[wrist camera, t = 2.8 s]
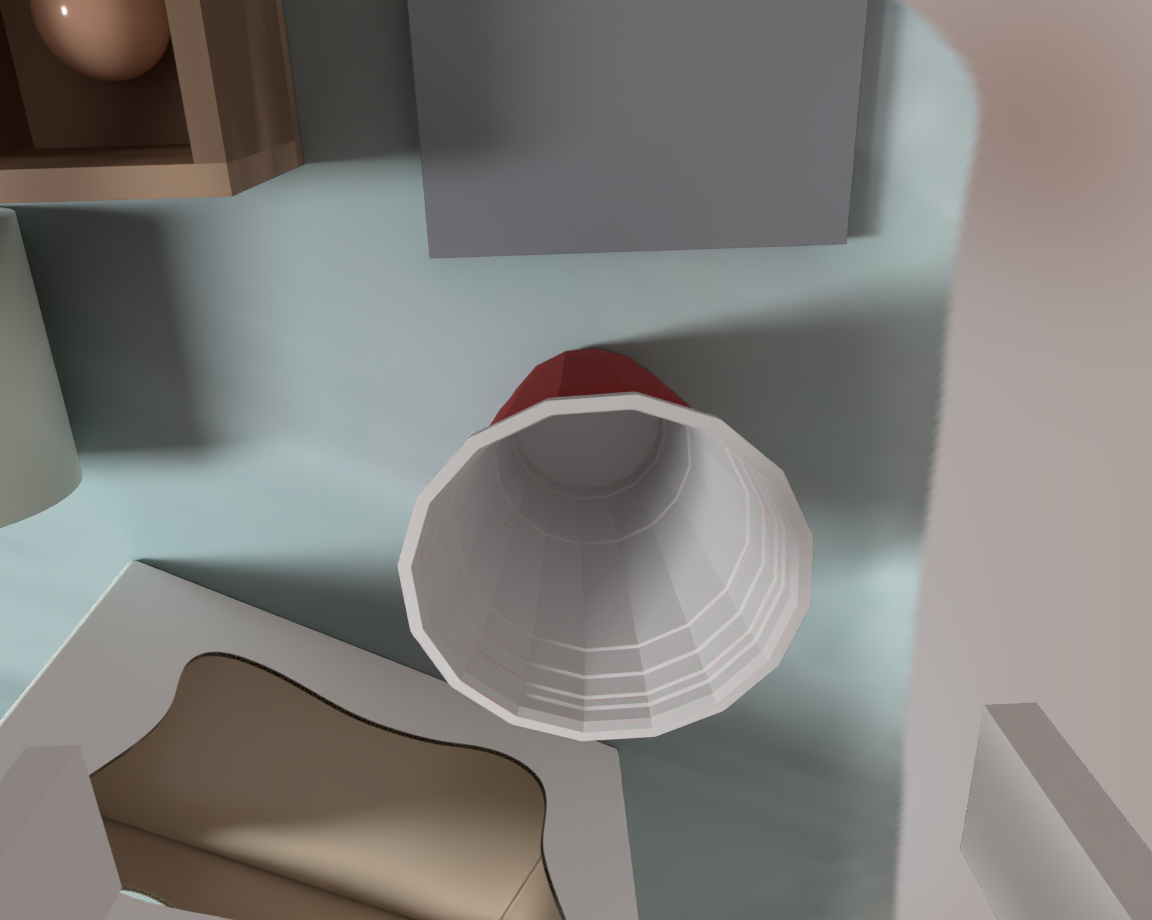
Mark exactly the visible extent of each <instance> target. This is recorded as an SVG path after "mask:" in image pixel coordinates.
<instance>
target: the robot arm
mask: <svg viewBox="0 0 1152 920" xmlns="http://www.w3.org/2000/svg"><path fill="white" fill-rule="evenodd" d="M960 849H961V851H962V853H963V855H964V857H965V859H966V861H967V862H968V864H969V866H970V868H971V870H972V872H973V874H974V876H975V878H976V879H977V881H978V883H979V885H980V887H981V889H982V891H983V893H984V894H985V896H986V898H987V900H988V902H989V904H990V906H991V908H992V909H993V911H994V913H995V915H996V917H997V919H998V920H1152V852H1151V851H1150V849H1149V848H1148V847H1147V845H1146V844H1145V843H1144V841H1143V840H1142V839H1141V838H1140V836H1139V835H1138V834H1137V832H1136V831H1135V830H1134V828H1133V827H1132V826H1131V825H1130V823H1129V822H1128V821H1127V819H1126V818H1125V817H1124V816H1123V814H1122V813H1121V812H1120V811H1119V809H1118V808H1117V807H1116V805H1115V804H1114V803H1113V801H1112V800H1111V799H1110V797H1109V796H1108V795H1107V794H1106V792H1105V791H1104V790H1103V789H1102V787H1101V786H1100V785H1099V783H1098V782H1097V781H1096V779H1095V778H1094V777H1093V775H1092V774H1091V773H1090V772H1089V770H1088V769H1087V768H1086V766H1085V765H1084V764H1083V763H1082V761H1081V760H1080V759H1079V757H1078V756H1077V755H1076V753H1075V752H1074V751H1073V750H1072V748H1071V747H1070V746H1069V745H1068V743H1067V742H1066V741H1065V739H1064V738H1063V737H1062V735H1061V734H1060V733H1059V731H1058V730H1057V729H1056V728H1055V726H1054V725H1053V724H1052V722H1051V721H1050V720H1049V719H1048V717H1047V716H1046V715H1045V713H1044V712H1043V711H1042V710H1041V708H1040V707H1039V706H1038V704H1037V703H1019V704H998V705H997V704H996V705H984V709H983V715H982V722H981V727H980V733H979V739H978V745H977V751H976V757H975V763H974V769H973V776H972V781H971V787H970V793H969V799H968V806H967V811H966V817H965V823H964V829H963V835H962V841H961V847H960ZM121 888H122V885H121V882H120V879H119V875H118V872H117V869H116V865H115V862H114V859H113V855H112V852H111V848H110V845H109V842H108V838H107V835H106V832H105V828H104V825H103V821H102V818H101V815H100V811H99V808H98V805H97V801H96V798H95V795H94V791H93V788H92V784H91V781H90V778H89V774H88V771H87V768H86V764H85V761H84V757H83V754H82V751H81V747H80V745H63V746H40V747H26V748H25V749H24V751H23V752H22V753H21V755H20V756H19V757H18V758H17V760H16V761H15V762H14V764H13V765H12V766H11V768H10V769H9V770H8V771H7V773H6V774H5V775H4V777H3V778H2V779H1V780H0V920H105V919H106V917H107V915H108V913H109V911H110V909H111V907H112V905H113V903H114V901H115V900H116V898H117V896H118V894H119V892H120V890H121Z"/></svg>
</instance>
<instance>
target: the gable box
mask: <svg viewBox="0 0 1152 920" xmlns="http://www.w3.org/2000/svg"><path fill="white" fill-rule="evenodd" d="M63 745H80V747H81V751H82V754H83V757H84V761H85V764H86V768H87V771H88V774H89V778H90V781H91V784H92V788H93V791H94V795H95V798H96V801H97V805H98V808H99V811H100V815H101V818H102V821H103V825H104V828H105V832H106V835H107V838H108V842H109V845H110V848H111V852H112V855H113V859H114V862H115V865H116V869H117V872H118V875H119V879H120V882H121V885H122V888H121V890H126V891H132V892H136V893H139V894H142V895H145V896H148V897H150V898H152V899H154V900H156V901H158V902H160V903H162V904H163V905H165V906H161V905H157V904H153V903H150V902H146V901H143V900H139V899H136V898H133V897H130V896H127V895H124V894H121V893H119V894H118V896H117V898H116V900H115V901H114V903H113V905H112V907H111V909H110V911H109V913H108V915H107V917H106V919H105V920H639V917H638V909H637V900H636V892H635V884H634V876H633V868H632V860H631V851H630V843H629V835H628V827H627V819H626V811H625V802H624V794H623V786H622V778H621V770H620V762H619V754H618V751H617V749H615V748H613V747H610V746H608V745H605V744H602V743H600V742H597V741H595V740H594V741H578V740H574V739H570V738H566V737H562V736H558V735H554V734H550V733H545V732H541V731H537V730H533V729H529V728H525V727H521V726H517V725H512V724H510V723H508V722H507V721H505V720H503V719H502V718H500V717H499V716H497V715H495V714H494V713H492V712H491V711H489V710H487V709H486V708H484V707H483V706H481V705H480V704H478V703H476V702H475V701H473V700H472V699H470V698H468V697H467V696H465V695H464V694H462V693H460V692H459V691H457V690H456V689H454V688H453V687H451V686H450V685H449V683H447V682H444V681H442V680H439V679H437V678H434V677H432V676H429V675H426V674H424V673H421V672H419V671H416V670H414V669H411V668H409V667H406V666H404V665H401V664H398V663H396V662H393V661H391V660H388V659H386V658H383V657H381V656H378V655H375V654H373V653H370V652H368V651H365V650H363V649H360V648H358V647H355V646H353V645H350V644H347V643H345V642H342V641H340V640H337V639H335V638H332V637H330V636H327V635H324V634H322V633H319V632H317V631H314V630H312V629H309V628H307V627H304V626H302V625H299V624H296V623H294V622H291V621H289V620H286V619H284V618H281V617H279V616H276V615H273V614H271V613H268V612H266V611H263V610H261V609H258V608H256V607H253V606H251V605H248V604H245V603H243V602H240V601H238V600H235V599H233V598H230V597H228V596H225V595H222V594H220V593H217V592H215V591H212V590H210V589H207V588H205V587H202V586H200V585H197V584H194V583H192V582H189V581H187V580H184V579H182V578H179V577H177V576H174V575H172V574H169V573H166V572H164V571H161V570H159V569H156V568H154V567H151V566H149V565H146V564H143V563H141V562H138V561H132V562H129V563H128V564H127V565H126V566H125V567H124V569H123V570H122V571H121V572H120V574H119V575H118V576H117V577H116V579H115V580H114V581H113V582H112V583H111V585H110V586H109V587H108V588H107V590H106V591H105V592H104V593H103V595H102V596H101V597H100V598H99V600H98V601H97V602H96V603H95V604H94V606H93V607H92V608H91V609H90V611H89V612H88V613H87V614H86V616H85V617H84V618H83V619H82V621H81V622H80V623H79V624H78V625H77V627H76V628H75V629H74V630H73V632H72V633H71V634H70V635H69V637H68V638H67V639H66V640H65V642H64V643H63V644H62V645H61V646H60V648H59V649H58V650H57V651H56V653H55V654H54V655H53V656H52V658H51V659H50V660H49V661H48V662H47V664H46V665H45V666H44V667H43V669H42V670H41V671H40V672H39V674H38V675H37V676H36V677H35V679H34V680H33V681H32V682H31V683H30V685H29V686H28V687H27V688H26V690H25V691H24V692H23V693H22V695H21V696H20V697H19V698H18V700H17V701H16V702H15V703H14V704H13V706H12V707H11V708H10V709H9V711H8V712H7V713H6V714H5V716H4V717H3V718H2V719H1V721H0V780H1V779H2V778H3V777H4V775H5V774H6V773H7V771H8V770H9V769H10V768H11V766H12V765H13V764H14V762H15V761H16V760H17V758H18V757H19V756H20V755H21V753H22V752H23V751H24V749H25V748H26V747H40V746H63ZM166 906H167V907H166Z"/></svg>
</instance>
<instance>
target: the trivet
mask: <svg viewBox="0 0 1152 920" xmlns="http://www.w3.org/2000/svg"><path fill="white" fill-rule="evenodd" d="M407 3H408V15H409V26H410V38H411V49H412V61H413V72H414V83H415V95H416V106H417V118H418V129H419V141H420V152H421V163H422V175H423V186H424V198H425V209H426V221H427V232H428V244H429V255H430V258H453V257H483V256H512V255H542V254H572V253H601V252H631V251H660V250H690V249H719V248H749V247H778V246H808V245H837V244H846V243H847V232H848V220H849V209H850V198H851V186H852V175H853V164H854V152H855V141H856V129H857V118H858V107H859V95H860V84H861V73H862V61H863V50H864V39H865V27H866V16H867V4H868V0H407Z"/></svg>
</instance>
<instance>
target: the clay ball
mask: <svg viewBox="0 0 1152 920" xmlns="http://www.w3.org/2000/svg"><path fill="white" fill-rule="evenodd" d="M29 7H30V13H31V17H32V20H33V23H34V25H35V28H36V30H37V32H38V34H39V36H40V38H41V39H42V41H43V42H44V44H45V45H46V46H47V48H48V49H49V50H50V51H51V52H52V53H53V54H54V55H55V56H56V57H57V58H58V59H59V60H60V61H61V62H62V63H64V64H65V65H66V66H68V67H69V68H71V69H73V70H74V71H76V72H78V73H80V74H82V75H85V76H87V77H90V78H93V79H97V80H102V81H114V82H117V81H125V80H129V79H133V78H136V77H139V76H141V75H143V74H144V73H146V72H148V71H149V70H150V69H151V68H153V67H154V66H155V65H156V64H157V63H158V62H159V60H160V59H161V58H162V56H163V54H164V53H165V50H166V48H167V46H168V42H169V38H170V28H169V22H168V16H167V11H166V5H165V0H29Z"/></svg>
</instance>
